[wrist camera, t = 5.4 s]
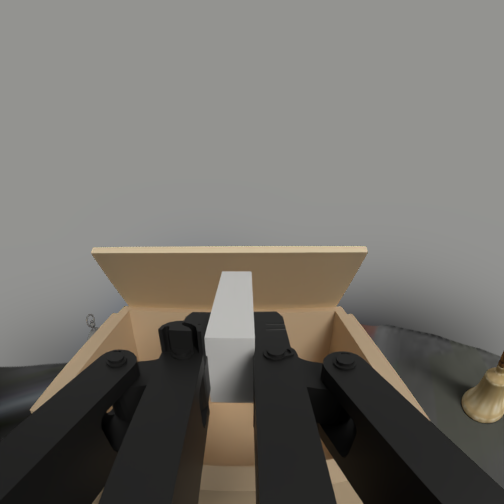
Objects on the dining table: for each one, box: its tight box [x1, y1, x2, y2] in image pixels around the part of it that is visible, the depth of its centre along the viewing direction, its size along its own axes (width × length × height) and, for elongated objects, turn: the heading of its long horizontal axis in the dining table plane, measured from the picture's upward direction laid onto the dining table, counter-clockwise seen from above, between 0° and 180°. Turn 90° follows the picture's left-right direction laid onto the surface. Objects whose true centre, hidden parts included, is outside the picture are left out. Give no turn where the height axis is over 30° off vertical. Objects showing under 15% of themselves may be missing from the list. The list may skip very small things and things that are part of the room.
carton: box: [30, 306, 430, 504], centre depth 21 cm, size 21×25×14 cm
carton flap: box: [91, 246, 368, 309], centre depth 25 cm, size 10×23×1 cm
